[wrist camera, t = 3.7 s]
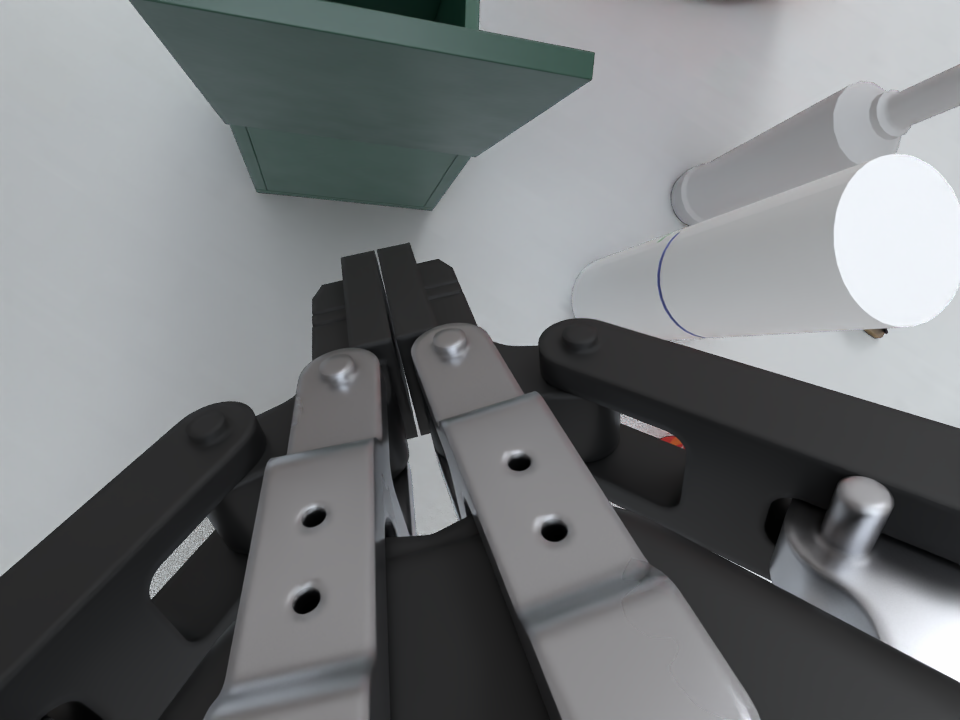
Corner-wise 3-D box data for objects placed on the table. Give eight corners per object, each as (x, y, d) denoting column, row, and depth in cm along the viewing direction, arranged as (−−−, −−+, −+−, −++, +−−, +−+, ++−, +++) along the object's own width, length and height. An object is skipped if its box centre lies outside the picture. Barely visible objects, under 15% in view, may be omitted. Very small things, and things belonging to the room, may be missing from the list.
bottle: (700, 159, 50) (1050, -28, 26) (730, 209, 51) (1096, 73, 27) (658, 189, 49) (981, 23, 25) (688, 241, 50) (1031, 128, 26)
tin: (263, 1, 41) (237, -156, 28) (438, 34, 44) (483, -94, 32) (256, 192, 41) (226, 119, 28) (432, 210, 44) (474, 152, 31)
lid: (124, -40, 14) (124, -4, 14) (595, 51, 17) (592, 79, 17) (225, 106, 28) (225, 124, 28) (477, 141, 31) (476, 157, 31)
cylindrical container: (555, 306, 46) (803, 248, 22) (604, 240, 48) (892, 117, 23) (617, 360, 48) (914, 362, 24) (664, 295, 49) (992, 233, 25)
